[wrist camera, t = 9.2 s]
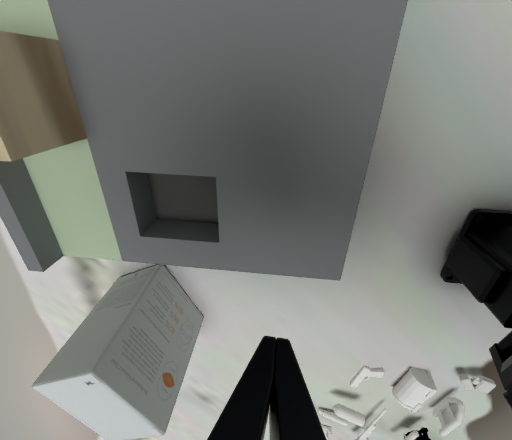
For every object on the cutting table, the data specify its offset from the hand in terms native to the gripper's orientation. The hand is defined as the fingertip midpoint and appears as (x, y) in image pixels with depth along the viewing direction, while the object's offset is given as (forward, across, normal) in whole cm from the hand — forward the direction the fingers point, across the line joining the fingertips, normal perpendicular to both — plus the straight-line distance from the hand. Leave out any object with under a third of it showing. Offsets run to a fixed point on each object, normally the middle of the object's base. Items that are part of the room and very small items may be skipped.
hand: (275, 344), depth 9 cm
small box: (+13, +11, +13) cm, 21 cm away
